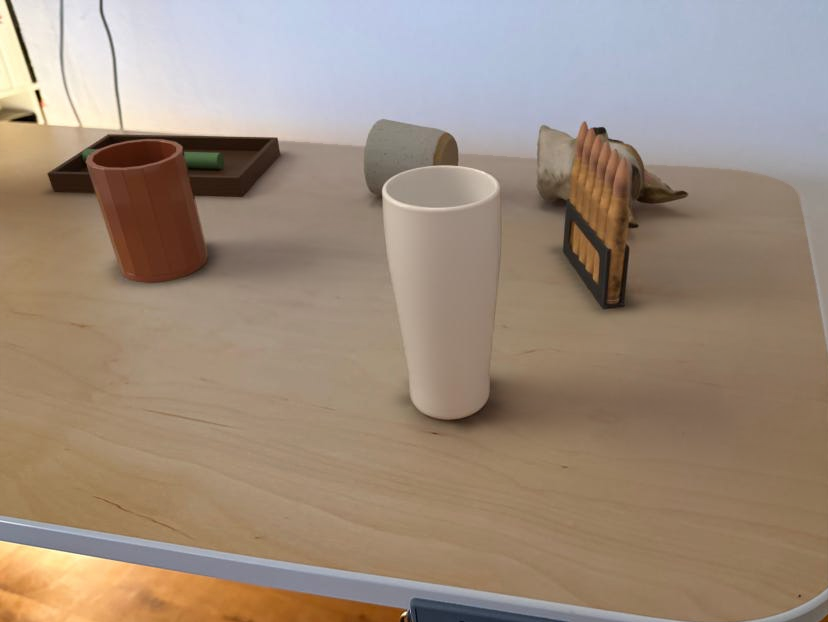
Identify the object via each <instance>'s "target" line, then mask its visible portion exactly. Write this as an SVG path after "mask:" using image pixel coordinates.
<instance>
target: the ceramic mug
mask: <svg viewBox="0 0 828 622" xmlns="http://www.w3.org/2000/svg"><path fill="white" fill-rule="evenodd" d="M459 159H460V158H459V147H458V142H457V140H456V139H455V137H454V136H453V135H452V134H451V133H449V132H447V131H445V130H442V129H439V128H434V127H429V126H423V125H418V124H411V123H407V122H401V121H396V120H391V119H385V118H382V119H379V120H377V121H375V123H374V124H373V125H372V127H371V128H370V130H369V132H368V135H367V137H366V141H365V146H364V151H363V174H364V181H365V184H366V187H367V189H368V190H369V192H370V193H372V194H373V195H376V196H382V188H383V186H384V184H385V183H386V182H387V181H388V180H389V179H390V178H392V177H393V176H395V175H397V174H399V173H402V172H405V171H408V170H411V169H416V168H421V167H428V166H459V161H460V160H459Z"/></svg>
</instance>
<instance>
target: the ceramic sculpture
mask: <svg viewBox="0 0 828 622" xmlns="http://www.w3.org/2000/svg"><path fill="white" fill-rule="evenodd" d="M592 128H593V129H594V132H595V136H596V137H597V135H598V134H600V135H601V137H602V141H603V145H604V144H605V142H609V145H610V148H611V154H612V152H613V150H614V149H617V151H618V154H619V159H620V162H621V160H622V158H623V157H625V158H626V159H627V162H628V167H629V177H630V186H629V204H628V207H629V223H628V229H638V228H639V226H640V225H639V223H638V222H637V220H635V219H636V218H635V216H634V212H633V208H632V206H633V205H634V204H635V203H636V202H639V203H642V204H647V205H657V204H658V205H659V204H664V203H669V202H674V201H678V200H681V199H685V198H687V197H688V196H689V192H687V191H685V190H675V189H672V188H671V187H670V186H669V184H667V183H665V182H662V180H661V178H660V177H658V176H657V175H656V174H655V173H652V172H649V171H648V169H646V168H645V165H644V161H643V160H642V157H641V155H640V154H639V152H638V150H637V149H636V148H635V147H634V146H633V145H631V144H629V143H625V142H624V141H622V140H619V139H612V138H610V137H609V134H608V132H607V129H606V128H605V127H604V126H598V127H596V126H593V127H592ZM588 131H589V129H588ZM577 137H578V135H577V136H576V137H575V138H574V137H573V136H571V135H569V134H568V133H567V132H564V131H560V130H558V129H556V128H555V129H554V128H551V127H550V126H548V125H546V124H542V125H541V126H540V127H539V131H538V138H537V144H536V146H537V151H536V161H537V163H536V164H537V170H536V175H537V179H536V188H537V193H538V194H539V196H540V197H541V199H542V200H544V201H545V202H553V201H558V200H561V199H563V200H564V201H566V200H567V199H570V186H571V173H572V168H573V165H574V157H575V150H576V142H577Z"/></svg>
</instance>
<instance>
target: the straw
mask: <svg viewBox="0 0 828 622" xmlns="http://www.w3.org/2000/svg"><path fill="white" fill-rule="evenodd" d="M84 149H85V150H84ZM84 149H83V150H84V151H83V150H82V151H83V154H82V158H83V161H84V163H85V164H86V160H87V157H88V155H90V154H91V153H93V152H94V151H96V150H98V149H86V148H84ZM184 155H185V159H186V163H187V168H194V169H222V168H223V166H224V158H223V155H222V154H221V153H208V152H184Z"/></svg>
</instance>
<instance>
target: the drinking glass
mask: <svg viewBox="0 0 828 622" xmlns="http://www.w3.org/2000/svg"><path fill="white" fill-rule="evenodd" d="M381 200H382V222H383V223H382V224H383V235H384V236H383V237H384V247H385V253H386V254H385V255H386V262H387V267H388V273H389V277H390V285H391V290H392V295H393V300H394V305H395V310H396V315H397V320H398V326H399V332H400V337H401V343H402V349H403V352H404V353H403V355H404V359H405V365H406V371H407V377H408V378H407V379H408V389H409V390H408V391H409V397H410V400H411V403H412V405H414V407H415V408H416V409H417V410H418V411H419V412H420V413H422V414H423V415H425V416H427V417H430V418H434V419H437V420H444V421H445V420H446V421H447V420H459V419H464V418H467V417H469V416H472V415H474V414H476V413H477V412H479V411H480V410H481V409H482V408H483V407H484V406H485V405H486V404H487V402H488V400H489V397H490V393H491V365H492V364H491V363H492V352H493V342H494V341H493V340H494V330H495V319H496V311H497V310H496V309H497V299H498V290H499V280H500V272H501V271H500V270H501V259H502V258H501V256H502V238H503V237H502V234H503V231H502V230H503V229H502V227H503V226H502V201H501V185H500V183H499V181H498V180H497V178H495V176H493V175H491V174H490V173H488V172H486V171H483V170H481V169H478V168H472V167H469V166H463V165H462V166H461V165H458V166H428V167H421V168H416V169H411V170H408V171H405V172H402V173H399V174H397V175H395V176H393V177H392V178H390V179H389V180H388V181H387V182H386V183H385V184H384V186H383V188H382V195H381Z"/></svg>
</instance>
